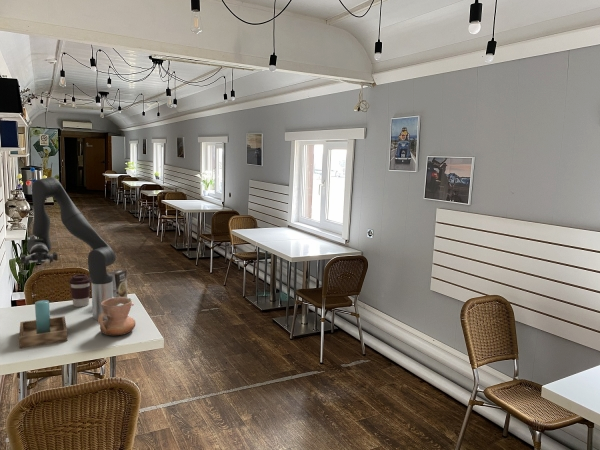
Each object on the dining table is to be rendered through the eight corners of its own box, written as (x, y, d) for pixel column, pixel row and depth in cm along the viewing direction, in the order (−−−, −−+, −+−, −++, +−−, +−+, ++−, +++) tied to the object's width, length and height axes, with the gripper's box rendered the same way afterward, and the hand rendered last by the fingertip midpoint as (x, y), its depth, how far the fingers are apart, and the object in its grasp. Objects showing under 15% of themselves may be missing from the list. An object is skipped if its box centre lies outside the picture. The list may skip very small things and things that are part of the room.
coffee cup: (78, 300, 242) (76, 272, 240) (95, 302, 241) (94, 274, 238) (66, 307, 232) (64, 277, 230) (84, 308, 231) (83, 279, 229)
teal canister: (50, 330, 201) (49, 299, 198) (50, 335, 196) (49, 303, 194) (36, 332, 198) (35, 301, 196) (36, 337, 194) (34, 305, 191)
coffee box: (117, 304, 238) (116, 274, 235) (106, 303, 239) (105, 273, 237) (127, 299, 247) (127, 269, 244) (116, 298, 248) (115, 268, 245)
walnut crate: (65, 325, 209) (64, 316, 208) (67, 340, 194) (66, 330, 193) (21, 331, 201) (20, 321, 200) (19, 348, 186) (18, 337, 185)
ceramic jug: (123, 322, 215) (121, 292, 213) (145, 329, 208) (143, 298, 206) (88, 335, 200) (86, 304, 198) (110, 343, 193) (108, 311, 190)
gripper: (20, 246, 212) (19, 254, 198) (56, 244, 219) (57, 251, 205) (22, 262, 213) (20, 271, 199) (57, 259, 220) (58, 268, 206)
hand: (39, 261), depth 202 cm, fingers open, 8 cm apart
